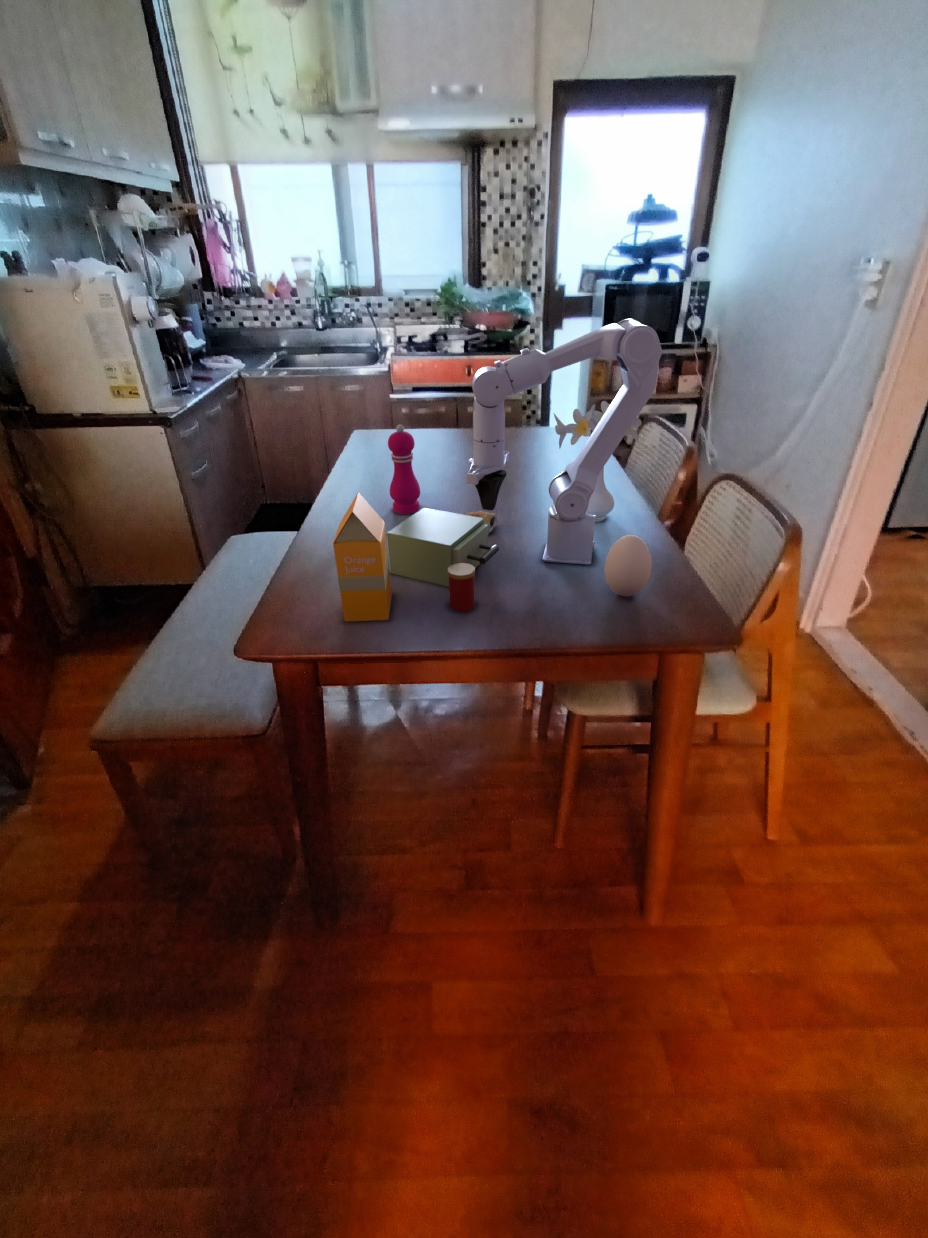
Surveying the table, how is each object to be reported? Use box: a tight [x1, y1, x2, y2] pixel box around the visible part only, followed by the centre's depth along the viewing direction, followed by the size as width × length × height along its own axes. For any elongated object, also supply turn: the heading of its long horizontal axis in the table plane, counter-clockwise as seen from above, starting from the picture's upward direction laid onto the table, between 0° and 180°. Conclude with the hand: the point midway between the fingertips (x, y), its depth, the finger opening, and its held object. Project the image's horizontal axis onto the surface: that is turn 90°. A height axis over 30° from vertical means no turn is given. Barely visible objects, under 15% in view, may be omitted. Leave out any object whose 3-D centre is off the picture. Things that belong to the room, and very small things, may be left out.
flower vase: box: [553, 400, 642, 523], centre depth 135 cm, size 13×18×25 cm
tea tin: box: [448, 563, 476, 612], centre depth 108 cm, size 5×5×7 cm
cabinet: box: [386, 507, 484, 588], centre depth 121 cm, size 14×14×9 cm
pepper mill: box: [387, 423, 421, 515], centre depth 143 cm, size 7×7×20 cm
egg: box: [603, 534, 653, 597], centre depth 109 cm, size 8×8×11 cm
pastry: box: [461, 510, 499, 535], centre depth 137 cm, size 9×7×4 cm
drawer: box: [452, 524, 500, 569], centre depth 119 cm, size 16×12×7 cm
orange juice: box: [332, 491, 393, 622], centre depth 104 cm, size 8×9×20 cm
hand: (488, 508), depth 120 cm, fingers closed
